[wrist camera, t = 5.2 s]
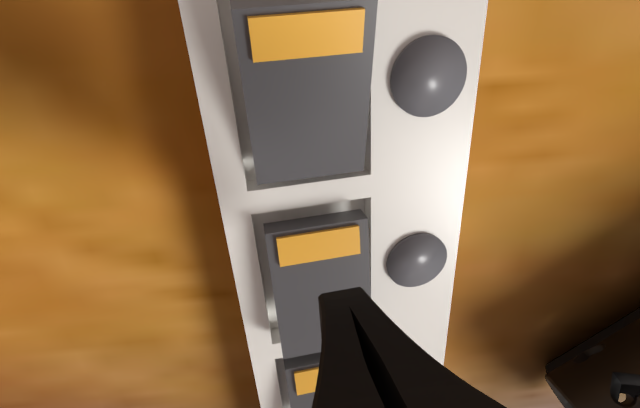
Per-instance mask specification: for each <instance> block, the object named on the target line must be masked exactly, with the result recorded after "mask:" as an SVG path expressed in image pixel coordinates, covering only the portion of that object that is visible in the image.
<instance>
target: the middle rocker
mask: <svg viewBox="0 0 640 408" xmlns="http://www.w3.org/2000/svg"><path fill="white" fill-rule="evenodd" d="M263 226H264V233H265V240H266V247H267V253H268V260H269V267H270V274H271V280H272V287H273V294H274V301H275V307H276V314H277V321H278V327H279V334H280V341H281V348H282V354H283V359H288V358H293V357H298V356H303V355H308V354H313V353H318V352H321V341H322V339H321V327H320V315H319V303H318V297H319V296H320V295H321V294H322V293H327V292H333V291H338V290H344V289H350V288H355V287H361V288H363V289H364V290H365V292H366V293H367V294H368V295H369V296H370V297H371V284H370V259H369V235H368V218H367V217H366V215H365V214H364V213H363V211H362V210H361V209H357V210H350V211H344V212H337V213H330V214H324V215H317V216H310V217H304V218H297V219H290V220H284V221H277V222H270V223H264V224H263Z"/></svg>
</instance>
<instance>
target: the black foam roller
mask: <svg viewBox="0 0 640 408" xmlns="http://www.w3.org/2000/svg"><path fill="white" fill-rule="evenodd" d="M545 368H546V373H547V374H546V375H545V379H546V381H547V383H548V384H549V386H550V387H551V389H552V390H553V392H554V393H555V395H556V396H557V398H558V399H559V400H560V402H561V403H562V405H563V406H564V407H565V408H640V308H639V309H637V310H635V311H634V312H632V313H631V314H629V315H627V316H626V317H624V318H622V319H621V320H619V321H617V322H616V323H614V324H612V325H611V326H609V327H608V328H606V329H604V330H603V331H601V332H599V333H598V334H596V335H594V336H593V337H591V338H589V339H588V340H586V341H585V342H583V343H581V344H580V345H578V346H576V347H575V348H573V349H571V350H570V351H568V352H566V353H565V354H563V355H562V356H560V357H558V358H557V359H555V360H553V361H552V362H550V363H548V364H547V365H546V366H545ZM620 393H624V394H626V400H625V401H624V402H621V403H620V402H618V399H619V394H620Z"/></svg>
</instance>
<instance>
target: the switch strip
mask: <svg viewBox="0 0 640 408" xmlns="http://www.w3.org/2000/svg"><path fill="white" fill-rule="evenodd" d="M178 4H179V9H180V14H181V18H182V23H183V28H184V33H185V38H186V43H187V48H188V53H189V58H190V63H191V68H192V72H193V77H194V82H195V87H196V92H197V97H198V102H199V107H200V112H201V117H202V122H203V127H204V131H205V136H206V141H207V146H208V151H209V156H210V161H211V166H212V171H213V176H214V181H215V185H216V190H217V195H218V200H219V205H220V210H221V215H222V220H223V225H224V230H225V235H226V240H227V244H228V249H229V254H230V259H231V264H232V269H233V274H234V279H235V284H236V289H237V294H238V298H239V303H240V308H241V313H242V318H243V323H244V328H245V333H246V338H247V343H248V348H249V352H250V357H251V362H252V367H253V372H254V377H255V382H256V387H257V392H258V397H259V402H260V407H261V408H291V407H290V400H289V394H288V387H287V380H286V373H285V366H284V359H283V354H282V348H281V341H280V334H279V327H278V321H277V314H276V307H275V301H274V294H273V287H272V280H271V274H270V267H269V260H268V253H267V247H266V240H265V233H264V226H263V224H264V223H270V222H277V221H284V220H290V219H297V218H304V217H310V216H317V215H324V214H330V213H337V212H344V211H350V210H357V209H361V210H362V211H363V213H364V214H365V215H366V217H367V218H368V235H369V259H370V284H371V299H372V300H373V301H374V302H375V303H376V304H377V305H378V306H379V307H380V309H381V310H382V311H383V312H384V313H385V314H386V315H387V316H388V317H389V318H390V319H391V320H392V321H393V322H394V323H395V324H396V325H397V326H398V327H399V328H400V329H401V330H402V331H403V332H404V333H405V334H406V335H408V336H409V337H410V338H411V339H412V340H413V341H414V342H415V343H416V344H418V345H419V346H420V347H421V348H422V349H423V350H424V351H426V352H427V353H428V354H429V355H430V356H432V357H433V358H434V359H435V360H437V361H438V362H439V363H440V364H442V365H444V357H445V349H446V340H447V332H448V324H449V316H450V308H451V299H452V291H453V283H454V275H455V267H456V259H457V250H458V242H459V234H460V226H461V218H462V209H463V201H464V193H465V185H466V177H467V169H468V160H469V152H470V144H471V136H472V128H473V120H474V111H475V103H476V95H477V87H478V79H479V70H480V62H481V54H482V46H483V38H484V30H485V21H486V13H487V5H488V0H378V6H377V18H376V30H375V42H374V54H373V67H372V79H371V91H370V103H369V115H368V127H367V139H366V151H365V163H364V171H357V172H350V173H342V174H335V175H328V176H320V177H313V178H306V179H298V180H291V181H284V182H276V183H269V184H262V185H257V179H256V173H255V166H254V160H253V153H252V146H251V140H250V133H249V126H248V120H247V113H246V107H245V100H244V93H243V87H242V80H241V73H240V67H239V60H238V54H237V47H236V40H235V34H234V27H233V20H232V14H231V7H230V0H178Z"/></svg>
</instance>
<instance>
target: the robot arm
mask: <svg viewBox="0 0 640 408" xmlns="http://www.w3.org/2000/svg"><path fill="white" fill-rule="evenodd" d="M318 303H319V315H320V327H321V339H322V341H321V354H320V362H319V370H318V377H317V383H316V389H315V394H314V399H313V403H312V408H506V407H505V406H503V405H501V404H500V403H498V402H497V401H495V400H493V399H492V398H490V397H488V396H487V395H485V394H484V393H482V392H480V391H479V390H477V389H476V388H474V387H472V386H471V385H469V384H468V383H467V382H465V381H464V380H462V379H461V378H459V377H458V376H456V375H455V374H454V373H452V372H451V371H450V370H448V369H447V368H446V367H444V366H443V365H442V364H440V363H439V362H438V361H437V360H435V359H434V358H433V357H432V356H430V355H429V354H428V353H427V352H426V351H424V350H423V349H422V348H421V347H420V346H419V345H418V344H416V343H415V342H414V341H413V340H412V339H411V338H410V337H409V336H408V335H406V334H405V333H404V332H403V331H402V330H401V329H400V328H399V327H398V326H397V325H396V324H395V323H394V322H393V321H392V320H391V319H390V318H389V317H388V316H387V315H386V314H385V313H384V312H383V311H382V310H381V309H380V307H379V306H378V305H377V304H376V303H375V302H374V301H373V300H372V299H371V297H370V296H369V295H368V294H367V293H366V292H365V290H364V289H363V288H361V287H355V288H350V289H344V290H338V291H333V292H327V293H322V294H321V295H320V296H319V297H318Z"/></svg>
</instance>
